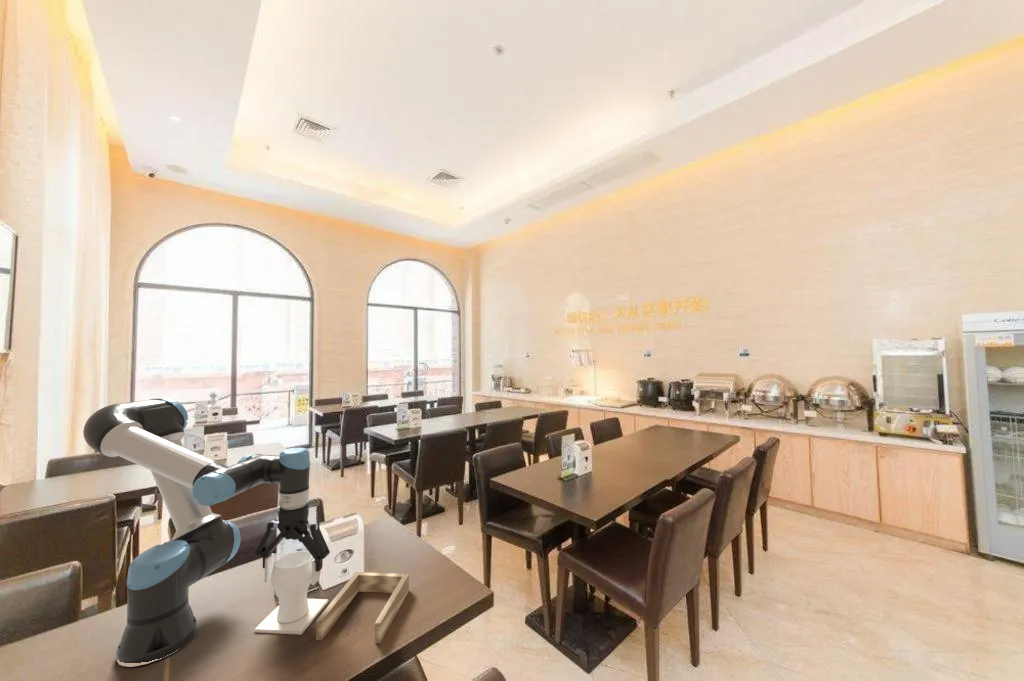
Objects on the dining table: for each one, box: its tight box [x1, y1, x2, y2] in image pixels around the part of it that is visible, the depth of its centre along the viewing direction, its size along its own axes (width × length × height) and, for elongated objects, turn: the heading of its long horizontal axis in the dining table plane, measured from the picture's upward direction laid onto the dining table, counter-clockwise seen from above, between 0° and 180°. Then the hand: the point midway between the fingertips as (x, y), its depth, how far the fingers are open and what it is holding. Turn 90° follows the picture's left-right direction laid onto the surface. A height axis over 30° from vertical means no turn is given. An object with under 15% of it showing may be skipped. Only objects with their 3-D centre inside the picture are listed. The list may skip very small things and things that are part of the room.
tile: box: [254, 597, 329, 635], centre depth 109 cm, size 13×13×1 cm
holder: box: [315, 571, 410, 644], centre depth 110 cm, size 17×22×5 cm
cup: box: [270, 550, 314, 623], centre depth 109 cm, size 11×11×15 cm
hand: (292, 580), depth 109 cm, fingers open, 13 cm apart
